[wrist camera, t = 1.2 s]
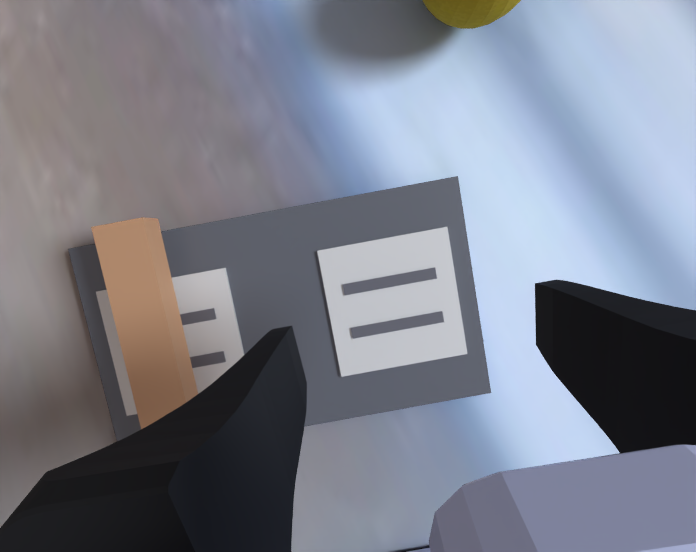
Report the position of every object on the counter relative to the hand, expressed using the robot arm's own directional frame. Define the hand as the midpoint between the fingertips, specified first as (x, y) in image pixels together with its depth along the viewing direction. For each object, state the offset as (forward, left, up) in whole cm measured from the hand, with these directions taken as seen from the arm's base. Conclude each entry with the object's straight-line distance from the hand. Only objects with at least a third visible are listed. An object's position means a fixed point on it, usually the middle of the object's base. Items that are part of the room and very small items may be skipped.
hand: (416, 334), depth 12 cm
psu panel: (-1, +6, -11) cm, 12 cm away
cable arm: (-2, +12, -8) cm, 15 cm away
